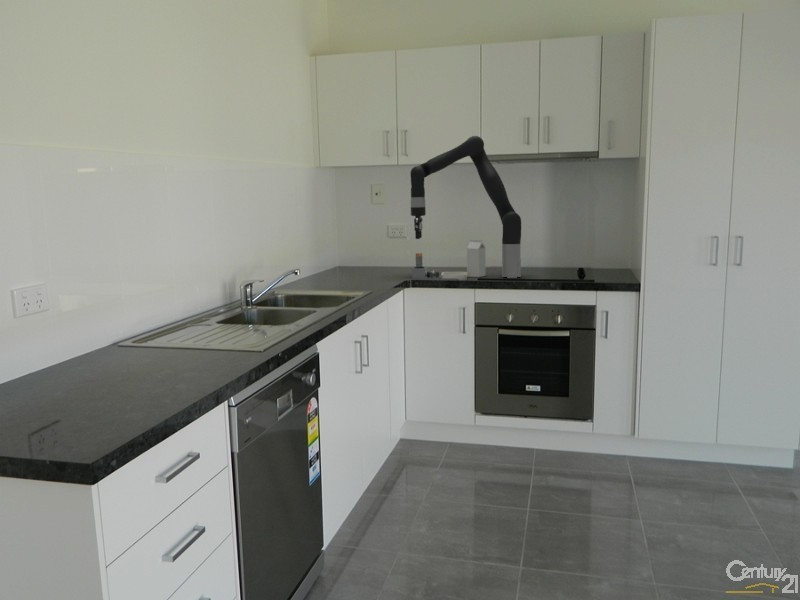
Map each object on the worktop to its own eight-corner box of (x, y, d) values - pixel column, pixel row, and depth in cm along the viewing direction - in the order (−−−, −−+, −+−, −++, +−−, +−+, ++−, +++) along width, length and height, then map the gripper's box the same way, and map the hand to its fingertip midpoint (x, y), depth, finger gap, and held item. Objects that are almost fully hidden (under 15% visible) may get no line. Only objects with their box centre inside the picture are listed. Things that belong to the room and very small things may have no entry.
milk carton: (478, 277, 346) (478, 240, 343) (466, 276, 351) (466, 240, 348) (485, 276, 352) (485, 239, 349) (473, 275, 356) (473, 239, 353)
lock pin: (423, 276, 348) (422, 253, 346) (422, 277, 344) (421, 253, 342) (416, 276, 348) (415, 253, 346) (415, 277, 345) (415, 253, 343)
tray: (467, 277, 348) (467, 271, 348) (466, 280, 336) (466, 274, 336) (442, 277, 350) (442, 271, 349) (440, 280, 338) (440, 274, 338)
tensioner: (440, 277, 350) (440, 266, 349) (439, 280, 340) (438, 268, 339) (413, 277, 352) (413, 266, 351) (411, 280, 342) (411, 268, 341)
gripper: (424, 206, 333) (424, 239, 336) (426, 205, 347) (427, 237, 350) (409, 206, 334) (409, 239, 337) (412, 206, 348) (412, 237, 351)
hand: (418, 238), depth 343 cm, fingers open, 8 cm apart
